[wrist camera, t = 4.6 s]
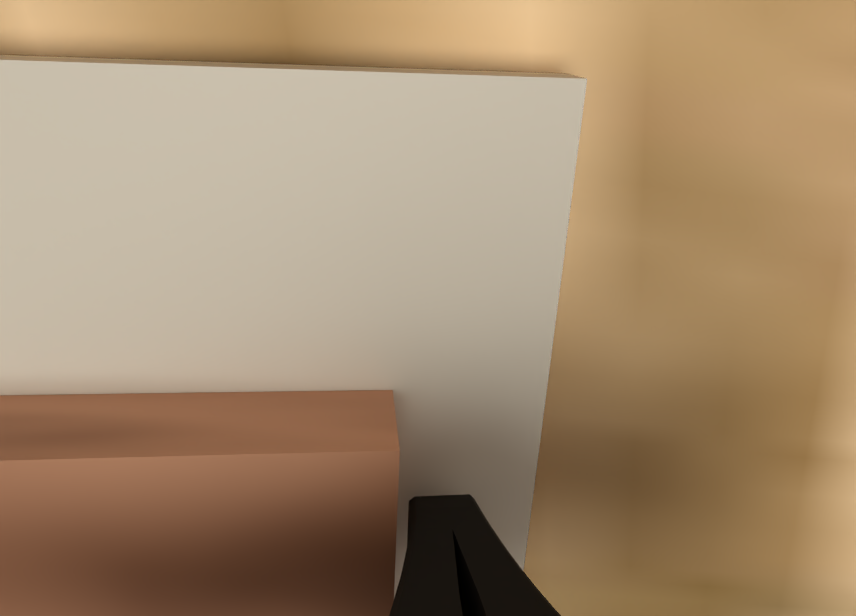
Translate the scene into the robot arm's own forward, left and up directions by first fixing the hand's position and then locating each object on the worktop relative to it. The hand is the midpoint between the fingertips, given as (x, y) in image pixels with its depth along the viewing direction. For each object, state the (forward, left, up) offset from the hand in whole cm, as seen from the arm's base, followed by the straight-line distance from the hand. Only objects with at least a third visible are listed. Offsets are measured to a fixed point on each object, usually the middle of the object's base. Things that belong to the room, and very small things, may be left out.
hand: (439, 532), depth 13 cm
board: (0, +4, -2) cm, 5 cm away
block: (0, +5, -1) cm, 5 cm away
